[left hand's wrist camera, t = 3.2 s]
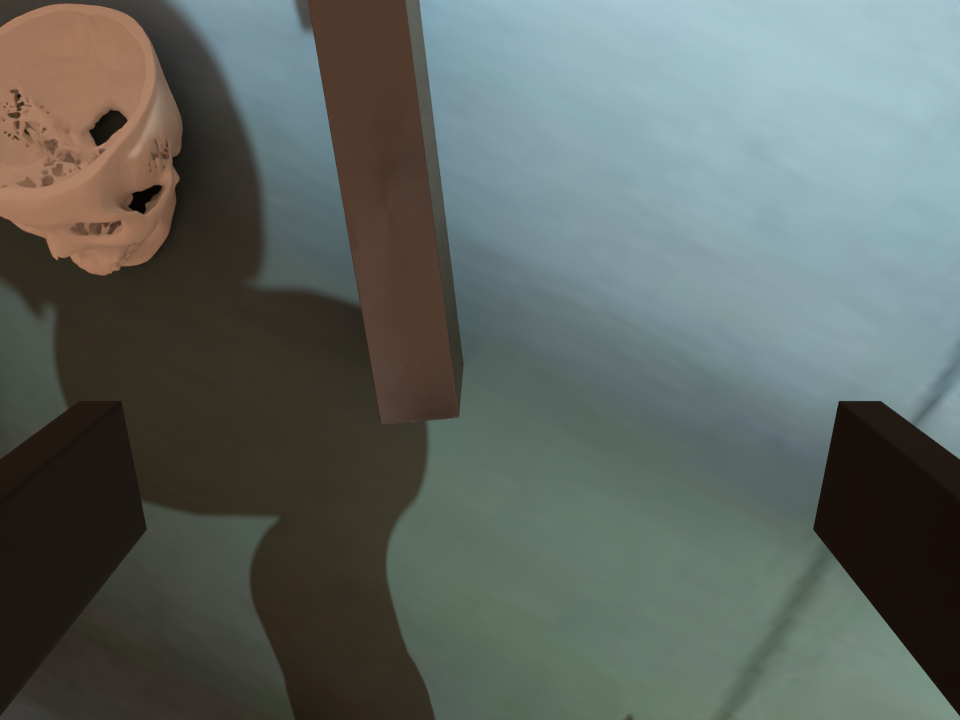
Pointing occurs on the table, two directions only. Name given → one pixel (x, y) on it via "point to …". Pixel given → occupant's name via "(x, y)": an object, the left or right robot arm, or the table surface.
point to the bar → (392, 201)
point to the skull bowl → (86, 135)
